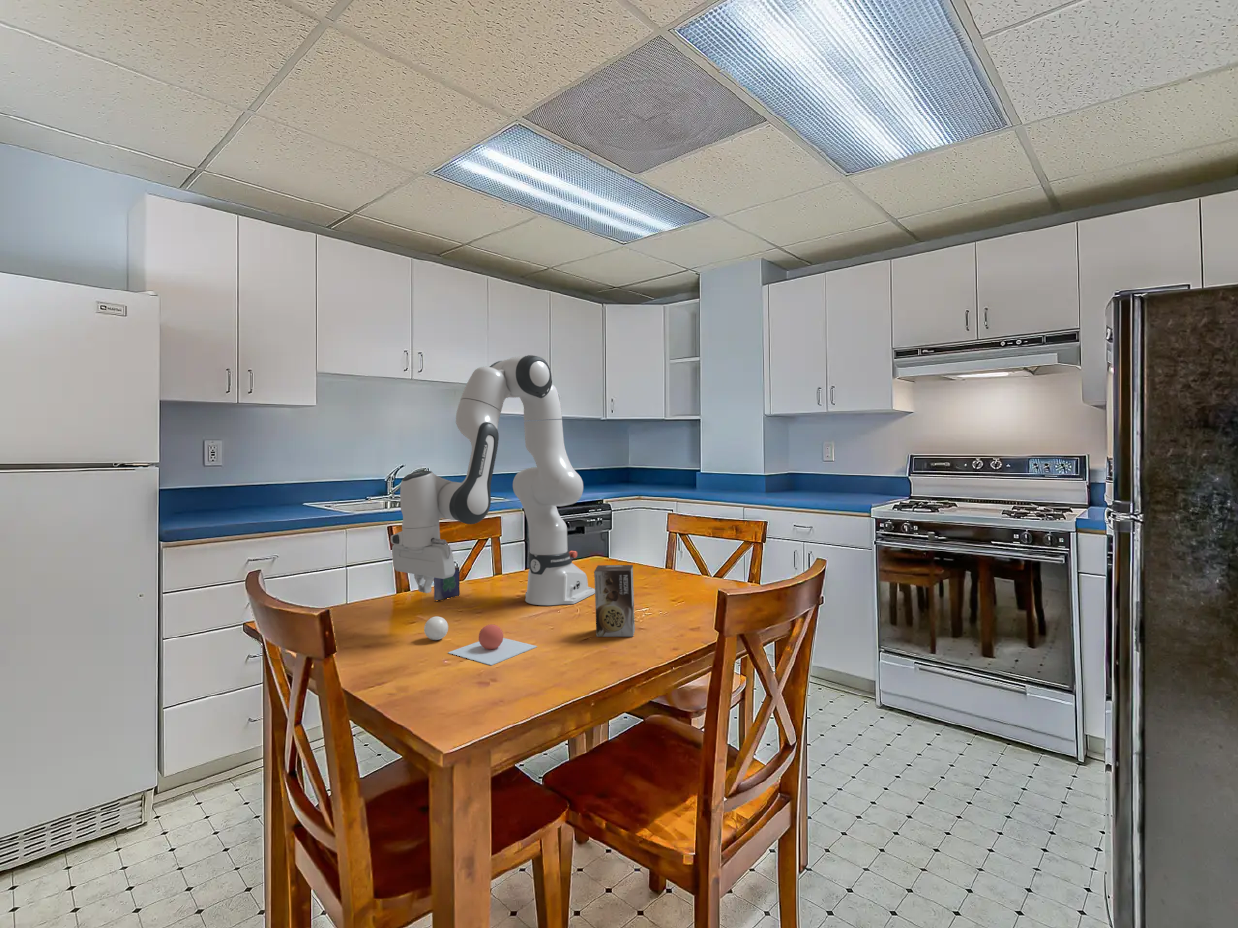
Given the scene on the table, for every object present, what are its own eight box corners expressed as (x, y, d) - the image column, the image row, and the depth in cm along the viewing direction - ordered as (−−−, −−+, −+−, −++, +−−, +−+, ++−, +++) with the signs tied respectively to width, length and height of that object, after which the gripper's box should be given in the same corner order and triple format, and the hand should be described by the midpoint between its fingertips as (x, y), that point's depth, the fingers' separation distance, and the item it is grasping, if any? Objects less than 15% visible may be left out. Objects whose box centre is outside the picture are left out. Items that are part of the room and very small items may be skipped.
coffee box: (635, 629, 156) (634, 564, 155) (633, 637, 149) (632, 569, 149) (598, 628, 157) (597, 564, 156) (595, 636, 150) (593, 569, 150)
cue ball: (451, 620, 149) (454, 635, 152) (437, 607, 152) (440, 622, 155) (431, 634, 146) (434, 648, 149) (417, 621, 148) (421, 635, 152)
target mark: (494, 636, 152) (494, 635, 152) (537, 646, 144) (537, 645, 144) (447, 653, 141) (447, 652, 141) (491, 665, 132) (491, 664, 132)
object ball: (512, 637, 143) (499, 649, 146) (499, 617, 145) (487, 629, 147) (494, 644, 139) (481, 657, 141) (482, 623, 140) (469, 636, 143)
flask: (438, 602, 185) (436, 566, 185) (431, 601, 187) (430, 565, 187) (462, 595, 193) (461, 560, 193) (455, 594, 195) (454, 559, 194)
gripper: (459, 537, 153) (462, 593, 153) (407, 532, 165) (411, 584, 165) (438, 542, 147) (441, 600, 148) (386, 536, 159) (389, 590, 160)
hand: (425, 591), depth 157 cm, fingers closed
